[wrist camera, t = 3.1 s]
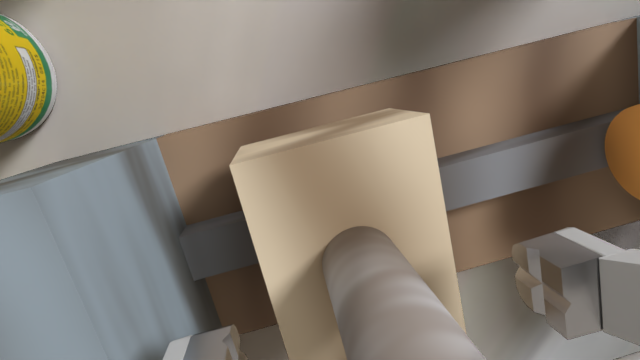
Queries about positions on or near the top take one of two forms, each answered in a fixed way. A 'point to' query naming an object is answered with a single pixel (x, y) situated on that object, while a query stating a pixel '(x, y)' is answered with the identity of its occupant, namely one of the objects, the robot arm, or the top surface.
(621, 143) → the orange rounded piece
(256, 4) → the top surface
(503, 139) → the rail base
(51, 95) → the supplement bottle
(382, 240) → the carriage
